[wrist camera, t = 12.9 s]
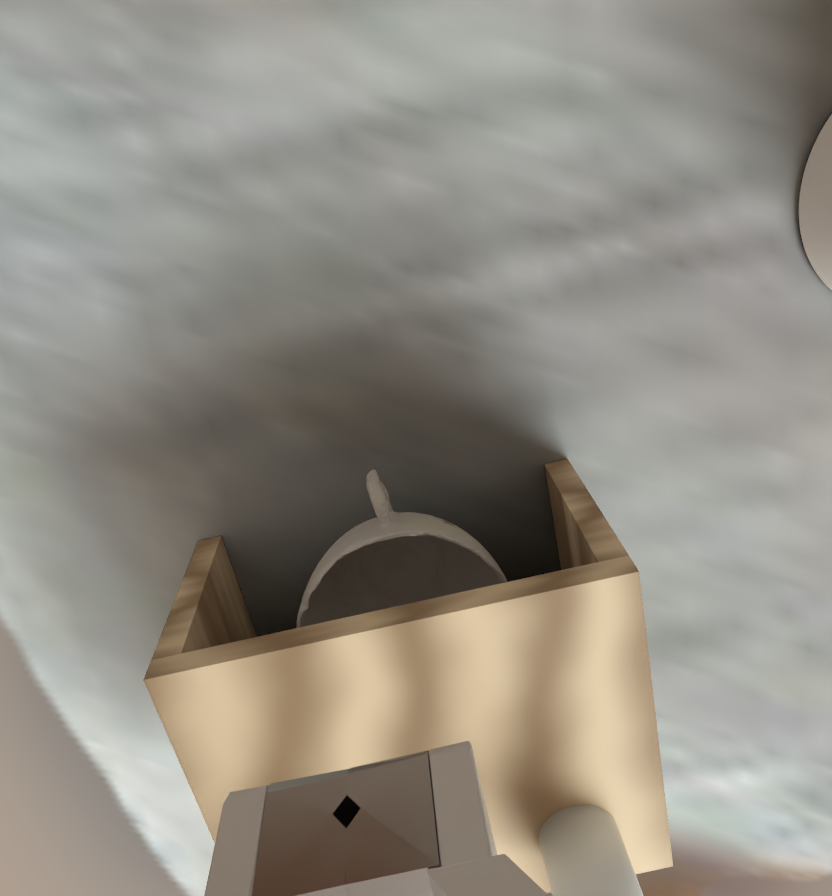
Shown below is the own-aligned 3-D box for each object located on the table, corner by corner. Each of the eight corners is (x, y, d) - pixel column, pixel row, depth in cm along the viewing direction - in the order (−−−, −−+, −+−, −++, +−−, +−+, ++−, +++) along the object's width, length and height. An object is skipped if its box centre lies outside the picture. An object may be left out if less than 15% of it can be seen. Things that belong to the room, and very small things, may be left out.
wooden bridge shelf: (567, 458, 49) (639, 571, 36) (603, 704, 57) (673, 866, 44) (198, 541, 49) (143, 679, 37) (283, 773, 57) (262, 953, 45)
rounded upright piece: (612, 797, 42) (659, 919, 35) (621, 854, 44) (667, 980, 37) (532, 814, 42) (564, 939, 35) (544, 870, 44) (576, 999, 37)
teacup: (508, 620, 53) (532, 699, 46) (330, 656, 53) (326, 741, 46) (473, 419, 48) (494, 473, 40) (273, 461, 48) (258, 521, 40)
